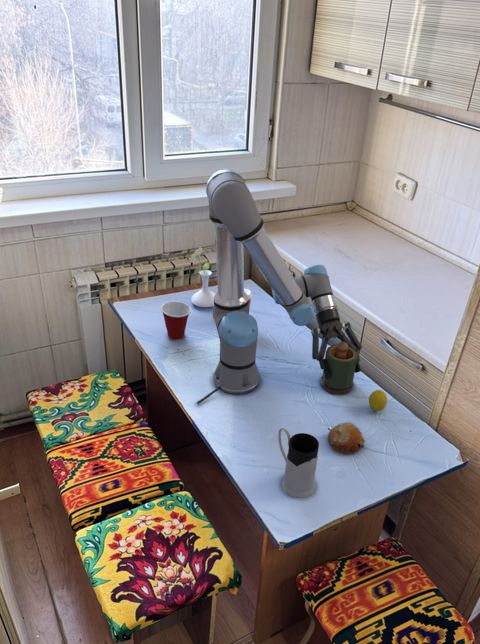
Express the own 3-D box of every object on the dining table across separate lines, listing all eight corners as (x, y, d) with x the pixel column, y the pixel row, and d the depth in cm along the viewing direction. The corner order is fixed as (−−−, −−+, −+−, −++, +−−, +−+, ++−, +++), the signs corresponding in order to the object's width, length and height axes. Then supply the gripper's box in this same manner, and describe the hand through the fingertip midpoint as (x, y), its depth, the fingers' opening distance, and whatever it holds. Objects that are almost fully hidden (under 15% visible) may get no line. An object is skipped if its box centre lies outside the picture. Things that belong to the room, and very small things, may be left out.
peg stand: (348, 398, 182) (356, 355, 173) (316, 389, 185) (322, 346, 176) (356, 380, 191) (364, 338, 182) (325, 371, 194) (331, 330, 185)
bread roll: (343, 438, 171) (337, 415, 169) (372, 442, 164) (366, 418, 162) (325, 455, 164) (319, 431, 162) (355, 459, 157) (348, 434, 155)
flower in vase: (208, 294, 236) (209, 238, 222) (224, 305, 229) (226, 248, 215) (182, 302, 229) (181, 244, 215) (198, 313, 222) (198, 255, 208)
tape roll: (348, 392, 182) (353, 364, 176) (319, 384, 185) (322, 356, 179) (355, 376, 190) (360, 349, 184) (327, 368, 193) (331, 341, 187)
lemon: (371, 417, 175) (375, 397, 171) (364, 406, 179) (368, 386, 175) (387, 415, 176) (392, 395, 172) (379, 404, 181) (384, 384, 176)
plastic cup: (187, 345, 202) (186, 316, 196) (158, 341, 203) (156, 312, 197) (194, 330, 211) (194, 302, 205) (167, 326, 212) (166, 298, 206)
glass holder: (295, 502, 144) (301, 460, 136) (263, 468, 153) (267, 427, 145) (321, 488, 149) (328, 446, 140) (288, 456, 158) (293, 415, 150)
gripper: (350, 309, 194) (367, 370, 191) (291, 319, 185) (308, 384, 182) (360, 302, 187) (379, 366, 184) (299, 313, 178) (317, 380, 175)
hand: (343, 375), depth 183 cm, fingers closed on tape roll, 10 cm apart
